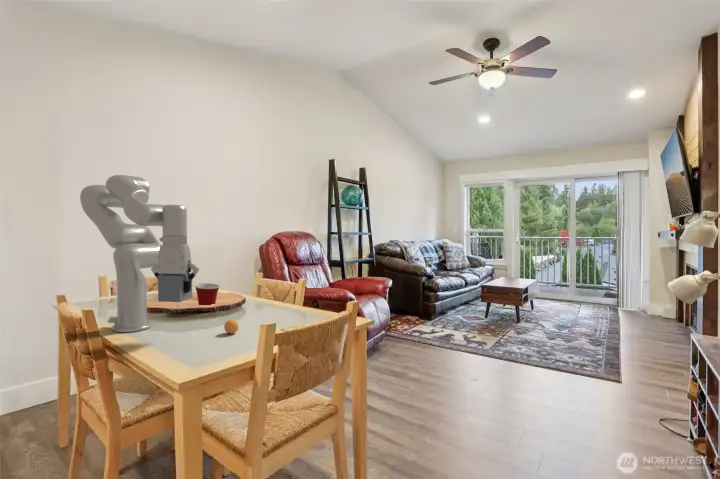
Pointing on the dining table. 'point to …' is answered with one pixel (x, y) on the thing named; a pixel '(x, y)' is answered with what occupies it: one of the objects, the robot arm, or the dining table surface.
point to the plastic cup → (207, 293)
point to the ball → (231, 326)
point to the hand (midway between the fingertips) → (175, 291)
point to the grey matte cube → (172, 288)
